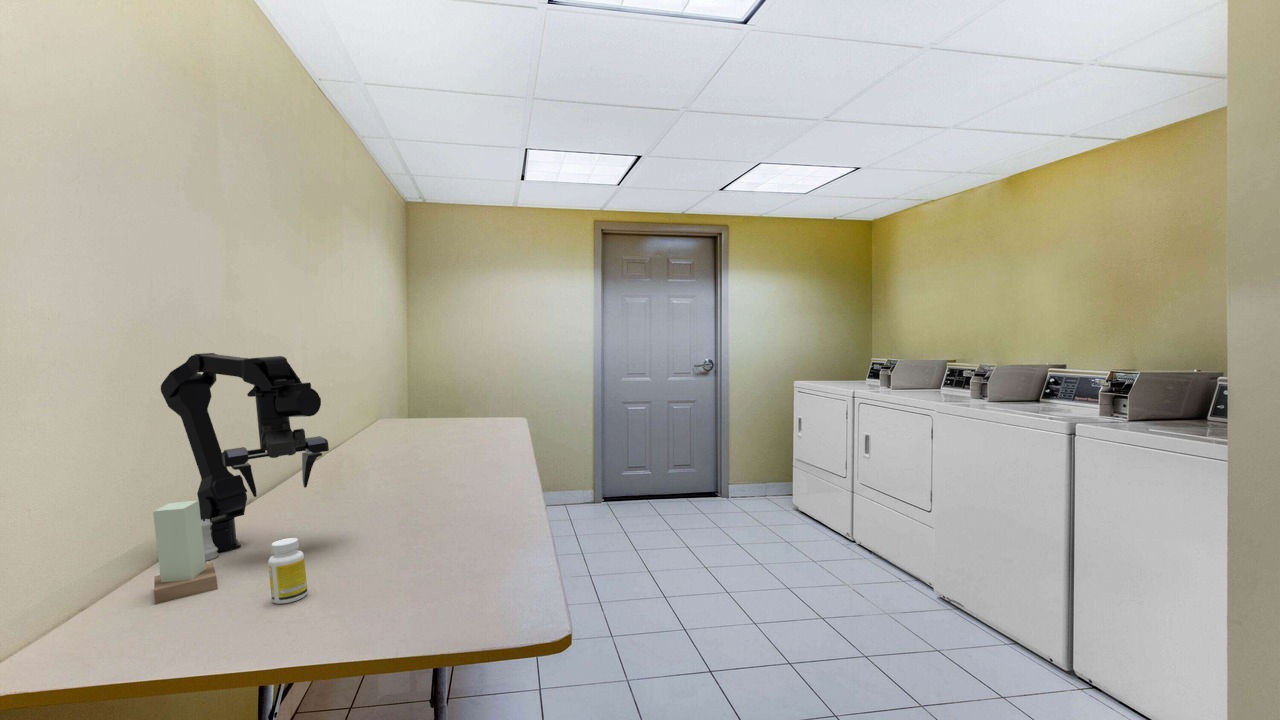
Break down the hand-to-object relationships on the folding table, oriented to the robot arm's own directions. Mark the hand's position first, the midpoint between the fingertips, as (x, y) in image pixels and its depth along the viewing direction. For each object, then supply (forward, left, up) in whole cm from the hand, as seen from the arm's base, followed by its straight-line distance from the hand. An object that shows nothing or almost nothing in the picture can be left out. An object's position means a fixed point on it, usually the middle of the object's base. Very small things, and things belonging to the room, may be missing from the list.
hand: (280, 491), depth 134 cm
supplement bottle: (+28, -4, -13) cm, 31 cm away
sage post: (+8, -18, -10) cm, 22 cm away
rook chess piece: (-10, -13, -13) cm, 21 cm away
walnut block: (+8, -18, -14) cm, 24 cm away
